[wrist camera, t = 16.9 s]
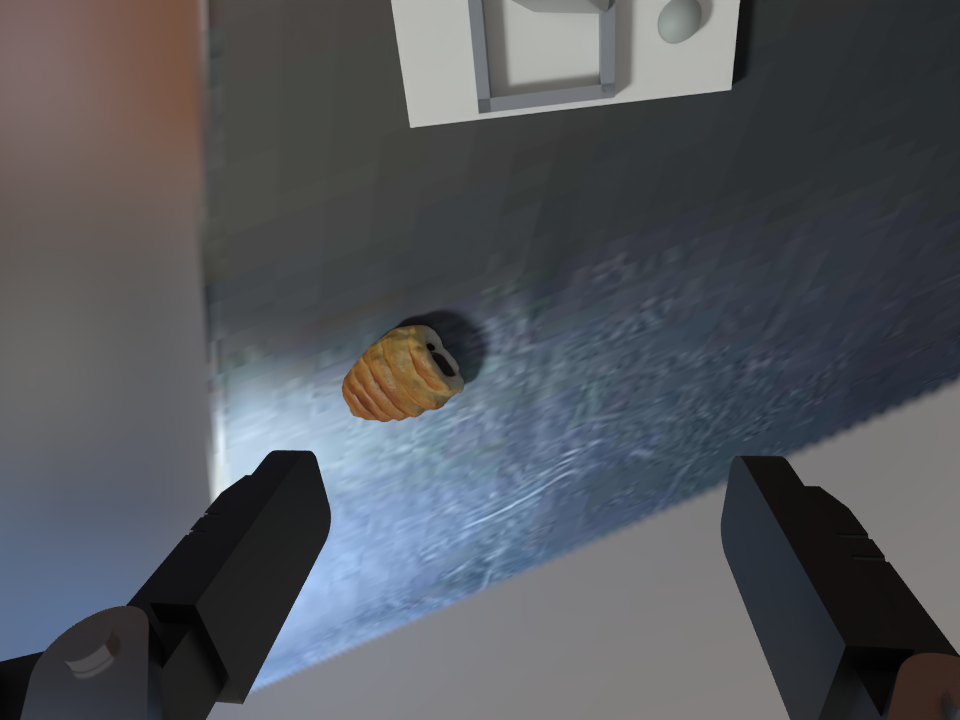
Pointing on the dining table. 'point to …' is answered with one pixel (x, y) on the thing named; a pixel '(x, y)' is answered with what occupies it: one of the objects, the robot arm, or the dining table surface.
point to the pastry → (402, 376)
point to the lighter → (566, 6)
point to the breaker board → (557, 55)
